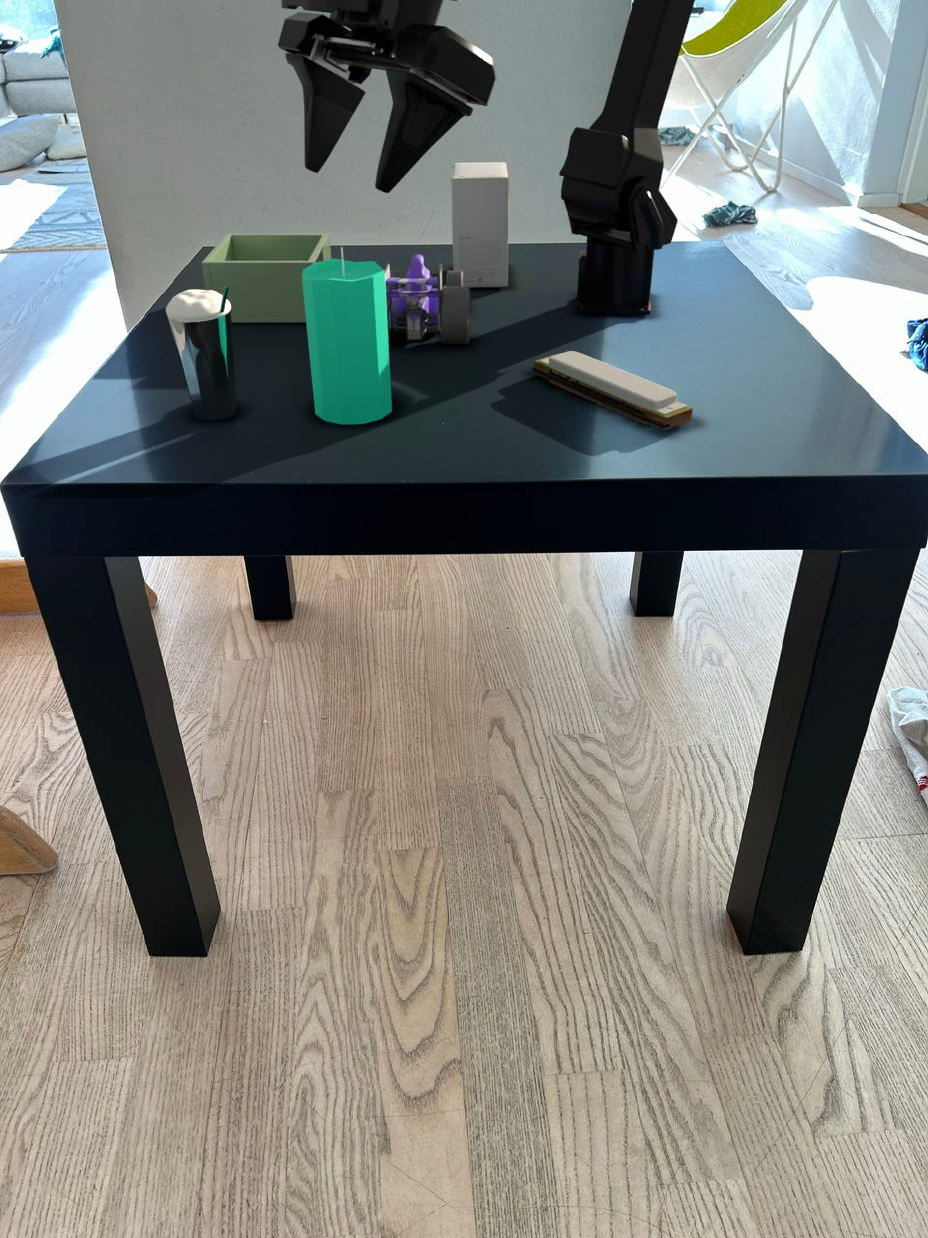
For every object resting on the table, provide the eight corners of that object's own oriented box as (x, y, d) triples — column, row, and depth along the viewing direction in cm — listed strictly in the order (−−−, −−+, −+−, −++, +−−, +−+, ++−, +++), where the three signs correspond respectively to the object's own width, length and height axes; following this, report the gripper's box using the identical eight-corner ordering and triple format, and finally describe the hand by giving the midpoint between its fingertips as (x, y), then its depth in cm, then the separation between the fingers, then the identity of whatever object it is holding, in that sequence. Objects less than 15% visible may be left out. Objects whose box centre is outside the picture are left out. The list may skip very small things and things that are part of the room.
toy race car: (474, 298, 99) (473, 229, 95) (468, 352, 86) (468, 275, 83) (377, 297, 99) (373, 229, 95) (358, 351, 87) (353, 275, 83)
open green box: (333, 289, 101) (329, 233, 98) (319, 322, 93) (313, 262, 90) (234, 289, 102) (226, 233, 99) (210, 322, 93) (201, 262, 90)
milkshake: (225, 432, 73) (203, 295, 67) (172, 417, 76) (147, 283, 70) (266, 410, 76) (248, 278, 71) (214, 396, 79) (193, 267, 73)
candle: (381, 427, 74) (371, 261, 67) (303, 421, 75) (286, 256, 68) (401, 396, 78) (394, 237, 72) (328, 390, 79) (314, 234, 73)
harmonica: (531, 375, 82) (532, 351, 81) (559, 366, 83) (560, 343, 82) (662, 434, 72) (665, 408, 71) (691, 423, 74) (695, 397, 73)
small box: (507, 288, 101) (509, 177, 95) (452, 289, 101) (450, 177, 95) (506, 266, 108) (507, 160, 102) (454, 266, 108) (452, 161, 102)
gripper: (248, -117, 68) (187, 120, 73) (411, -127, 56) (326, 157, 61) (372, -33, 76) (310, 175, 81) (537, -27, 64) (454, 218, 69)
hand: (344, 180), depth 72 cm, fingers open, 9 cm apart
